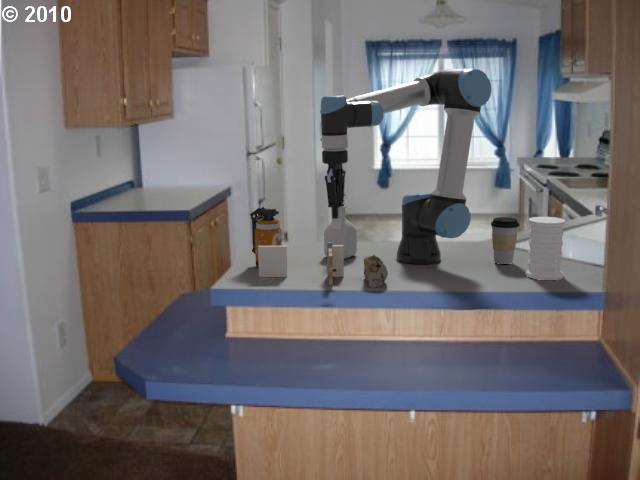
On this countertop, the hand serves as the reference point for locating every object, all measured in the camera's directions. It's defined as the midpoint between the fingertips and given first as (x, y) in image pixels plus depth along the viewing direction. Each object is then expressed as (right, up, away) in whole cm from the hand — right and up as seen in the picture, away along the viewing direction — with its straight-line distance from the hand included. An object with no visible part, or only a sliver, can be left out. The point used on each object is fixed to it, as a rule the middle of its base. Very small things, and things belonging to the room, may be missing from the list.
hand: (336, 228), depth 220 cm
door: (-1, -16, +7) cm, 17 cm away
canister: (-23, -12, +28) cm, 39 cm away
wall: (-11, -15, +14) cm, 24 cm away
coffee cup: (+57, -11, +28) cm, 65 cm away
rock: (+12, -17, +7) cm, 22 cm away
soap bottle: (+2, -10, +40) cm, 41 cm away
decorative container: (+65, -15, +11) cm, 68 cm away
